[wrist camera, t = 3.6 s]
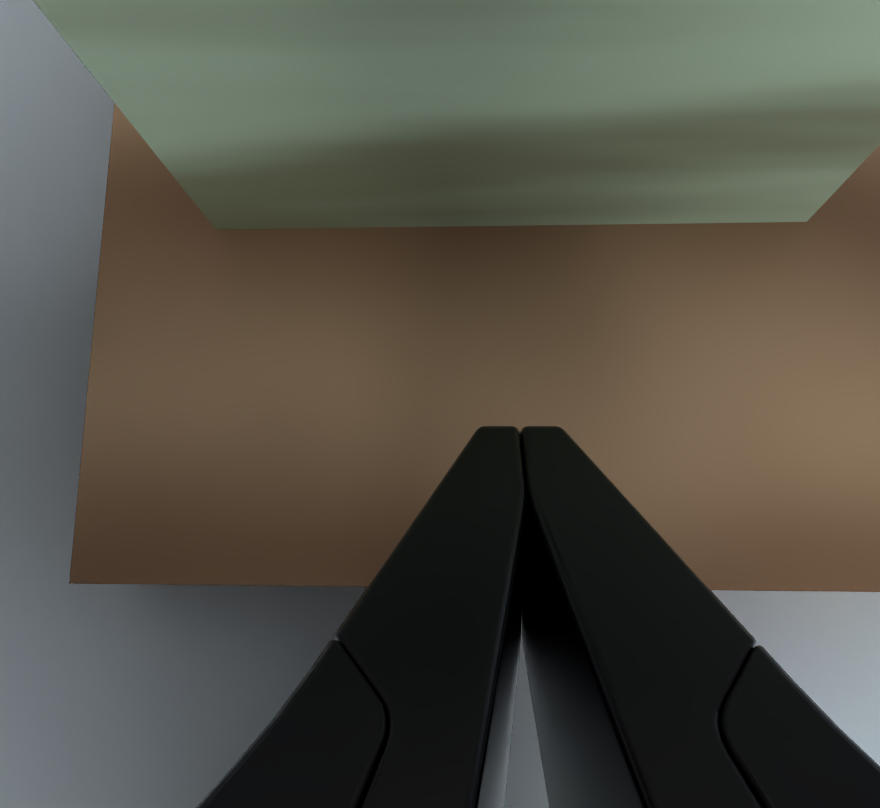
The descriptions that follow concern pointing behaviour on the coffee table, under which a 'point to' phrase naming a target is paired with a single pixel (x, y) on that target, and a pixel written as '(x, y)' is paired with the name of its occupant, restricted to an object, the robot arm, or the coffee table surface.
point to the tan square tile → (474, 384)
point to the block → (491, 106)
